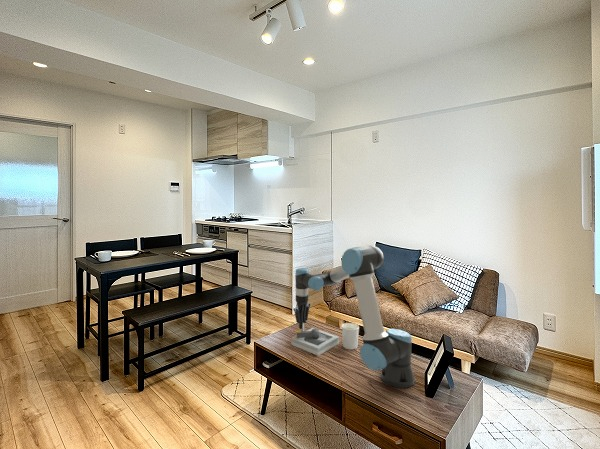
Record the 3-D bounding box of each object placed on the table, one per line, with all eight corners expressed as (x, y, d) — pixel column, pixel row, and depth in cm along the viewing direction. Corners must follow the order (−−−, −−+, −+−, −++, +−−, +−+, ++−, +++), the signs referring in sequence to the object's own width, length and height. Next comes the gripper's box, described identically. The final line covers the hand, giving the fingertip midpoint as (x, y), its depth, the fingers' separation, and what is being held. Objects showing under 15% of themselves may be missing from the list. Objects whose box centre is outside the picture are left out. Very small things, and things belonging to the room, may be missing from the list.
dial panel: (339, 343, 188) (339, 336, 188) (318, 355, 173) (318, 348, 173) (312, 333, 201) (312, 327, 201) (291, 344, 186) (291, 337, 186)
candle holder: (340, 348, 181) (340, 328, 180) (343, 341, 191) (343, 322, 190) (357, 351, 178) (357, 330, 177) (359, 343, 187) (360, 324, 187)
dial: (325, 335, 194) (325, 325, 193) (327, 345, 181) (327, 334, 180) (296, 335, 193) (296, 326, 193) (297, 345, 180) (297, 335, 180)
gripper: (304, 290, 195) (304, 328, 197) (289, 295, 185) (290, 335, 187) (313, 293, 190) (313, 331, 192) (299, 298, 180) (299, 338, 182)
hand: (302, 333), depth 189 cm, fingers closed
